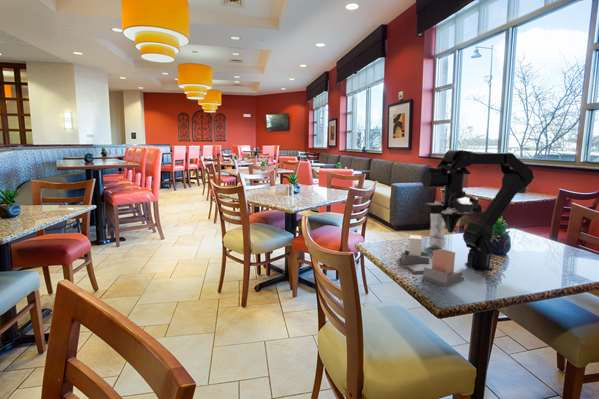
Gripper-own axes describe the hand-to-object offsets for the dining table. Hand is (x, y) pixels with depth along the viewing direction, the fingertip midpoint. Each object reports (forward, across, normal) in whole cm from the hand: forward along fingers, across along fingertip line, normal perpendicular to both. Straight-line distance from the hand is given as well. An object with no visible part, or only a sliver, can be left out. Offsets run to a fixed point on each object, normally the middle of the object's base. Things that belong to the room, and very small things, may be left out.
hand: (450, 232), depth 118 cm
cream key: (+12, -8, +9) cm, 17 cm away
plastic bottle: (+13, +10, +24) cm, 29 cm away
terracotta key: (+12, -8, -9) cm, 17 cm away
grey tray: (+13, -7, 0) cm, 15 cm away
